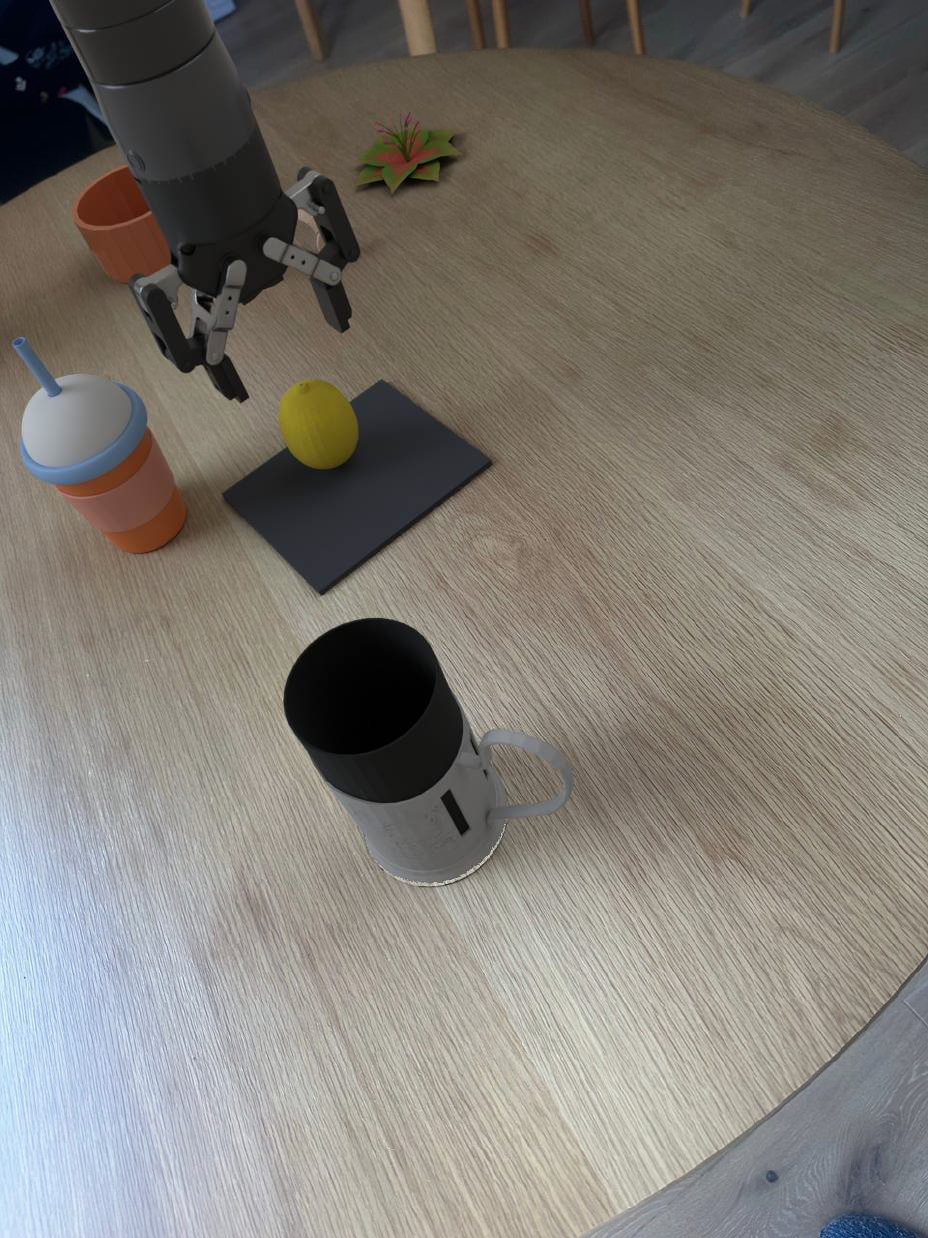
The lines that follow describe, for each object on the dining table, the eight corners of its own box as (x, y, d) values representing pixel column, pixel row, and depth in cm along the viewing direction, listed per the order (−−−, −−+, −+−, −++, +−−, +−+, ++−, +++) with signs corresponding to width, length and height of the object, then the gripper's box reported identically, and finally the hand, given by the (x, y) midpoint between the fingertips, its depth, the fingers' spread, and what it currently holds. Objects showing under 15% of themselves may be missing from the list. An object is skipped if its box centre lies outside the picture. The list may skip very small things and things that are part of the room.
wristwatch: (328, 273, 91) (310, 225, 87) (288, 265, 93) (268, 218, 89) (344, 255, 92) (327, 207, 88) (304, 248, 94) (285, 200, 90)
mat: (321, 596, 69) (318, 591, 68) (223, 497, 77) (221, 493, 76) (492, 464, 73) (491, 459, 72) (383, 382, 80) (381, 378, 80)
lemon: (353, 494, 73) (318, 416, 67) (289, 485, 75) (249, 409, 69) (381, 440, 76) (350, 360, 69) (319, 433, 78) (283, 354, 71)
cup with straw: (201, 557, 73) (74, 373, 59) (87, 580, 75) (-64, 405, 60) (209, 469, 79) (95, 281, 64) (103, 492, 80) (-32, 312, 65)
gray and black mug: (399, 731, 61) (321, 591, 49) (619, 793, 56) (592, 652, 44) (338, 860, 57) (237, 742, 45) (569, 940, 52) (524, 830, 40)
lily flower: (478, 124, 100) (469, 78, 96) (451, 195, 93) (440, 149, 90) (368, 133, 103) (355, 89, 100) (335, 202, 97) (320, 159, 93)
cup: (132, 298, 95) (101, 244, 90) (85, 256, 101) (53, 204, 96) (227, 237, 98) (201, 181, 93) (175, 200, 104) (148, 146, 99)
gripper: (258, 54, 58) (341, 284, 71) (50, 176, 54) (177, 395, 67) (328, 89, 54) (402, 326, 67) (107, 223, 50) (231, 446, 63)
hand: (289, 360), depth 67 cm, fingers open, 8 cm apart
